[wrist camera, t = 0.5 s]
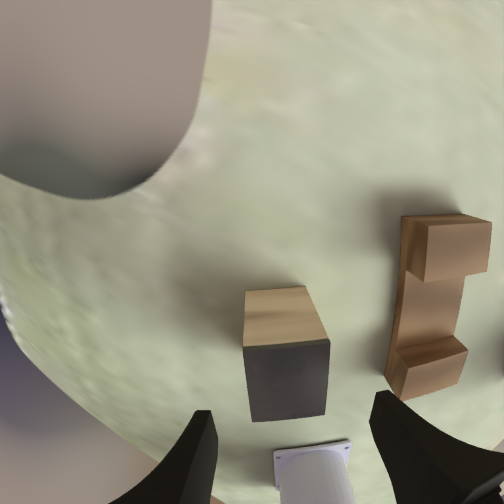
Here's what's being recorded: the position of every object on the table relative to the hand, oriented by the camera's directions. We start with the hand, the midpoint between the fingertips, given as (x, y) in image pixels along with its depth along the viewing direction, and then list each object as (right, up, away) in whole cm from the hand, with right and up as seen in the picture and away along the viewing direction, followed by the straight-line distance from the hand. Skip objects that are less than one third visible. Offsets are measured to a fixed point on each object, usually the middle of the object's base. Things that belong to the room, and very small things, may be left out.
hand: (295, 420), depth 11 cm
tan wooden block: (0, +2, +9) cm, 9 cm away
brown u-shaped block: (+12, +3, +9) cm, 15 cm away
